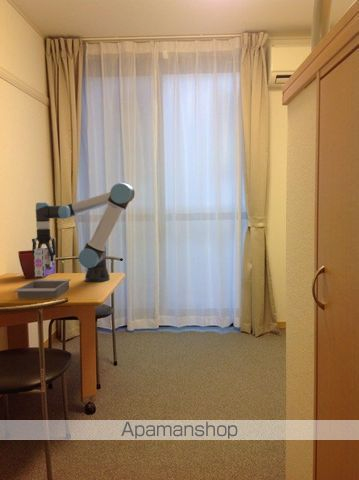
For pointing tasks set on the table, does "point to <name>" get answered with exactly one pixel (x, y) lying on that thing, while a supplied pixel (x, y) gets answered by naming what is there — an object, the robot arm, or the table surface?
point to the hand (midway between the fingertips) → (45, 266)
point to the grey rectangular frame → (44, 288)
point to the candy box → (43, 262)
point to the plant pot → (27, 263)
